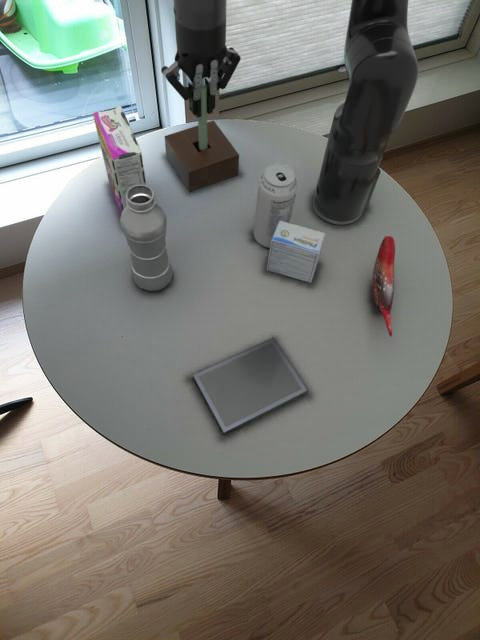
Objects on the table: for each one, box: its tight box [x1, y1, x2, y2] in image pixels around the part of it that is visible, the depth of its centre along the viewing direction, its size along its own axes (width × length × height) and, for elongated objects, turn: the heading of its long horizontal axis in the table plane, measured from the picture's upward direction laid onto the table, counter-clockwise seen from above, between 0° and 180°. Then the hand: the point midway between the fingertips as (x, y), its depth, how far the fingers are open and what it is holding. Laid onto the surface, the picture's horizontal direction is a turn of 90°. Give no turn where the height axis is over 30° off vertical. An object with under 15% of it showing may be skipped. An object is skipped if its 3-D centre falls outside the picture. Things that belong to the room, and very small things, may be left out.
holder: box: [164, 120, 240, 193], centre depth 102 cm, size 10×10×5 cm
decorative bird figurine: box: [371, 235, 396, 338], centre depth 85 cm, size 3×18×10 cm, turn 176°
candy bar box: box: [92, 106, 147, 215], centre depth 91 cm, size 11×5×16 cm, turn 23°
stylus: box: [197, 83, 208, 151], centre depth 95 cm, size 2×2×14 cm
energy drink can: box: [252, 162, 299, 249], centre depth 89 cm, size 6×6×15 cm
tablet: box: [192, 337, 309, 436], centre depth 81 cm, size 14×10×1 cm
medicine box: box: [266, 220, 326, 284], centre depth 89 cm, size 8×4×9 cm, turn 72°
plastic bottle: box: [119, 185, 173, 292], centre depth 81 cm, size 6×7×20 cm
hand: (202, 112), depth 94 cm, fingers closed on stylus, 1 cm apart
